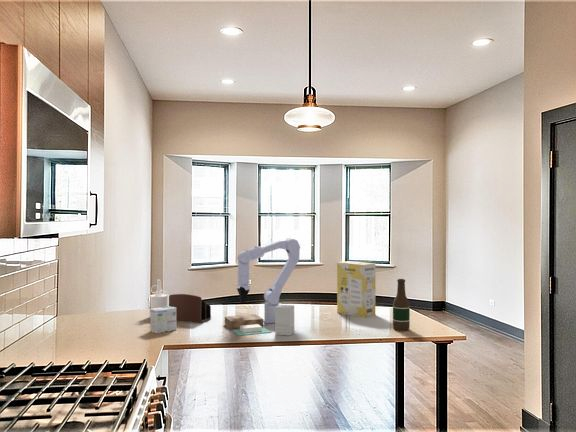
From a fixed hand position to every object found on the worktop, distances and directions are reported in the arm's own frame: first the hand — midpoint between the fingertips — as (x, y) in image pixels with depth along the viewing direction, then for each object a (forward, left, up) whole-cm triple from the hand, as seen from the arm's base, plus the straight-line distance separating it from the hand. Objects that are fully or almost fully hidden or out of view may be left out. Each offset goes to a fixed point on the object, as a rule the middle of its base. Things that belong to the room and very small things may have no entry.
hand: (242, 302), depth 254 cm
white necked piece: (+36, -32, -11) cm, 50 cm away
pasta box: (-65, +1, -11) cm, 65 cm away
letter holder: (+23, -18, -11) cm, 32 cm away
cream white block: (+2, +18, -8) cm, 20 cm away
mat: (+1, +19, -10) cm, 21 cm away
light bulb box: (+39, +1, -11) cm, 41 cm away
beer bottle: (-66, +42, -11) cm, 79 cm away
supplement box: (-12, +28, -11) cm, 32 cm away
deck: (+1, +6, -10) cm, 12 cm away
